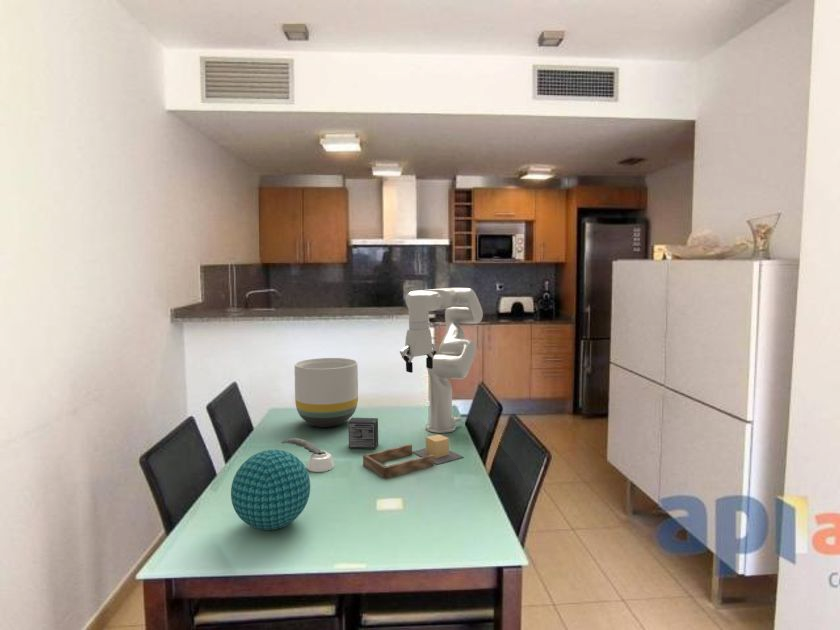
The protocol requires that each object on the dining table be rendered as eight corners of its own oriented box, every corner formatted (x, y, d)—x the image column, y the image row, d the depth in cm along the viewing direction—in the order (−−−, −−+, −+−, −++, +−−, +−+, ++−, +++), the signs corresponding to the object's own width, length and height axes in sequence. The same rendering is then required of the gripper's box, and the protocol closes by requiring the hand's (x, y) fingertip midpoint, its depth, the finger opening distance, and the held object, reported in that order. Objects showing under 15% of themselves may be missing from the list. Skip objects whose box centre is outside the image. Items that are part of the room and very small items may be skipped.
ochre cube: (438, 449, 194) (439, 434, 194) (449, 454, 189) (449, 438, 189) (425, 453, 191) (425, 437, 190) (435, 458, 186) (435, 441, 185)
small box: (379, 443, 202) (378, 417, 201) (375, 449, 196) (375, 422, 195) (352, 443, 203) (351, 416, 202) (348, 448, 197) (347, 421, 196)
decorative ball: (293, 548, 127) (291, 468, 125) (216, 541, 130) (213, 463, 128) (321, 510, 147) (320, 441, 145) (254, 505, 150) (252, 437, 148)
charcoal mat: (437, 446, 200) (437, 445, 199) (463, 457, 187) (463, 456, 187) (412, 452, 193) (412, 451, 193) (436, 464, 180) (436, 463, 180)
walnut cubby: (410, 453, 192) (410, 444, 191) (433, 465, 180) (433, 455, 180) (363, 465, 180) (363, 455, 180) (385, 478, 169) (384, 468, 168)
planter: (308, 414, 243) (307, 357, 240) (364, 416, 239) (364, 358, 237) (285, 432, 216) (284, 368, 214) (348, 435, 213) (348, 369, 210)
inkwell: (332, 472, 174) (331, 443, 173) (278, 472, 174) (277, 443, 173) (336, 462, 183) (335, 434, 183) (284, 462, 183) (284, 434, 182)
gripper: (430, 322, 206) (431, 365, 208) (394, 327, 196) (395, 371, 198) (442, 324, 200) (443, 368, 202) (406, 329, 190) (407, 375, 192)
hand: (419, 370), depth 200 cm, fingers open, 9 cm apart
